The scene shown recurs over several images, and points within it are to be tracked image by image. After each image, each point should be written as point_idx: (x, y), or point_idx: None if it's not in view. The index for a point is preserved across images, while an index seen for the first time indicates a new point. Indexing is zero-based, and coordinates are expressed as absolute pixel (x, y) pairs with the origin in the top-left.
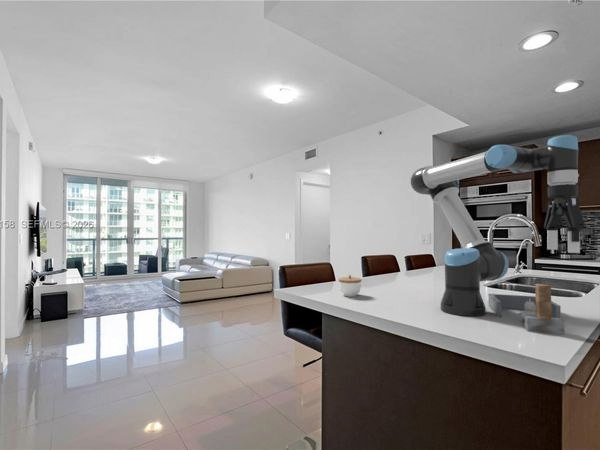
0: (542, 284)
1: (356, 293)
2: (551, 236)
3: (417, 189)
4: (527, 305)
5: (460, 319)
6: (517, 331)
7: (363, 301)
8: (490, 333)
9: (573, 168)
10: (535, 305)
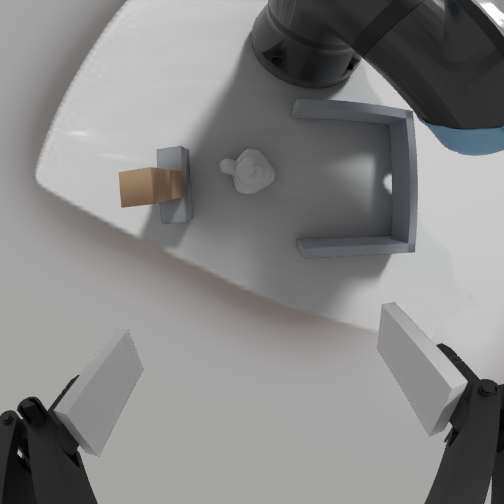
0: (143, 187)
1: None
2: (420, 373)
3: None
4: (240, 162)
5: (216, 34)
6: (156, 133)
7: None
8: (126, 88)
9: None
10: (397, 224)
